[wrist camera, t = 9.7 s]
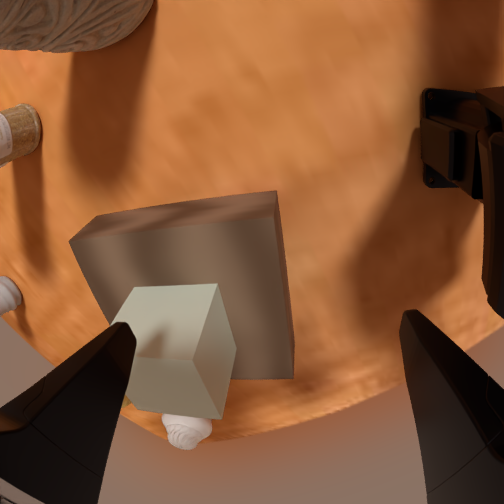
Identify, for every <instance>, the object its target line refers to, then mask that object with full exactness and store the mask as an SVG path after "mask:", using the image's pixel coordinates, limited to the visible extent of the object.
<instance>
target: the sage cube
mask: <svg viewBox="0 0 504 504" xmlns="http://www.w3.org/2000/svg"><path fill="white" fill-rule="evenodd" d="M115 322H127V323H128V324H129V326H130V328H131V330H132V331H133V333H134V335H135V337H136V340H137V346H136V350H135V355H134V360H133V365H132V370H131V375H130V379H129V383H128V387H127V390H126V393H125V394H126V396H127V397H128V398H129V399H130V401H131V402H132V403H133V404H134V406H135V407H136V408H137V409H138V410H143V411H150V412H156V413H163V414H170V415H178V416H187V417H196V418H207V419H221V420H222V418H223V413H224V408H225V403H226V398H227V393H228V388H229V383H230V378H231V374H232V369H233V364H234V359H235V354H236V349H237V348H236V345H235V342H234V338H233V335H232V332H231V328H230V325H229V322H228V318H227V315H226V311H225V308H224V304H223V301H222V297H221V294H220V290H219V287H218V283H217V284H197V285H176V286H151V287H134V288H133V290H132V291H131V293H130V294H129V296H128V298H127V299H126V301H125V302H124V304H123V305H122V307H121V309H120V310H119V312H118V314H117V315H116V317H115V318H114V320H113V322H112V323H111V325H113V324H114V323H115ZM111 325H110V326H111Z"/></svg>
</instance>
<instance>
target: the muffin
mask: <svg viewBox="0 0 504 504" xmlns="http://www.w3.org/2000/svg"><path fill="white" fill-rule="evenodd" d="M211 421H212V420H211V419H207V418H196V417H187V416H178V415H170V414H163V415H162V422H163V424H164V426H165V427H166V431H167V433H168V441H169V442H170V443H171V444H172V445H173V446H175V447H177V448H180V449H185V450H191V449H193V448H195V447H196V446H197V444H198V442H200V441H201V440H202V439H204V438H206V437H208V436H209V435H210V434H211V432H212V424H211Z"/></svg>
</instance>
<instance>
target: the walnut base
mask: <svg viewBox="0 0 504 504" xmlns="http://www.w3.org/2000/svg"><path fill="white" fill-rule="evenodd" d="M69 244H70V246H71V248H72V251H73V253H74V255H75V257H76V260H77V262H78V264H79V266H80V268H81V270H82V272H83V275H84V277H85V279H86V281H87V283H88V285H89V287H90V289H91V291H92V293H93V295H94V297H95V299H96V300H97V302H98V304H99V306H100V308H101V310H102V312H103V314H104V315H105V317H106V319H107V321H108V323H109V324H110V325H111V323H112V322H113V320H114V318H115V317H116V315H117V314H118V312H119V310H120V309H121V307H122V305H123V304H124V302H125V301H126V299H127V298H128V296H129V294H130V293H131V291H132V290H133V288H134V287H151V286H176V285H197V284H217V283H218V287H219V290H220V294H221V297H222V301H223V304H224V308H225V311H226V315H227V318H228V322H229V325H230V328H231V332H232V335H233V338H234V342H235V345H236V348H237V349H236V354H235V359H234V364H233V369H232V374H231V378H230V379H249V380H261V379H294V348H295V341H294V331H293V322H292V312H291V303H290V294H289V285H288V276H287V267H286V259H285V251H284V243H283V235H282V227H281V219H280V211H279V204H278V197H277V191H268V192H259V193H249V194H240V195H232V196H224V197H216V198H208V199H200V200H193V201H186V202H179V203H172V204H165V205H158V206H152V207H146V208H140V209H133V210H127V211H122V212H116V213H110V214H105V215H99V216H96V217H95V218H94V219H93V220H91V221H90V222H89V223H88V224H87V225H86V226H85V227H84V228H82V229H81V230H80V231H79V232H78V233H77V234H76V235H75V236H74V237H73V238H72V239H70V240H69Z"/></svg>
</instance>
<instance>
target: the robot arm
mask: <svg viewBox="0 0 504 504" xmlns="http://www.w3.org/2000/svg"><path fill="white" fill-rule="evenodd" d="M430 92H431V94H432V99H429V98H428V94H429V93H430ZM475 92H476V93H470V92H463V91H454V90H445V89H435V88H426V89H424V90H423V92H422V103H423V118H422V120H421V121H420V125H421V159H422V160H423V161H424V166H423V182H424V184H425V185H426V186H428V187H429V188H454V187H460V188H461V189H462V190H463V191H465V192H466V193H467V194H468V195H469V196H471V197H472V198H473V199H478V200H479V201H480V202H481V203H483V206H484V245H483V265H482V278H481V279H482V282H483V285H484V288H485V291H486V294H487V295H488V298H487V301H488V304H489V305H490V306H491V307H492V309H493V310H494V311H495V312H496V313H497V314H498V315H499V316H501V317H502V318H503V319H504V86H502V87H494V88H486V89H479V90H475ZM430 177H433V180H432V181H431V182H429V178H430ZM399 336H400V343H401V349H402V356H403V363H404V370H405V377H406V382H407V387H408V391H409V395H410V400H411V404H412V409H413V413H414V418H415V423H416V428H417V433H418V438H419V444H420V450H421V456H422V462H423V469H424V476H425V484H426V492H427V503H428V504H504V389H503V388H502V387H501V386H500V385H499V384H497V383H496V382H495V381H494V380H493V379H492V378H491V377H490V376H488V374H487V373H486V372H485V371H484V370H483V369H482V368H481V367H480V366H479V365H478V364H477V363H475V361H474V360H472V359H471V358H470V357H469V356H468V355H467V354H466V353H465V352H464V351H463V350H462V349H461V348H460V347H459V346H458V345H456V344H455V343H454V342H453V341H452V340H451V339H450V338H449V337H448V336H447V335H445V334H444V333H443V332H442V331H441V330H440V329H439V328H438V327H437V326H435V325H434V324H433V323H432V322H431V321H430V320H429V319H428V318H426V317H425V316H424V315H423V314H422V313H421V312H420V311H418V310H417V309H412V310H406V311H404V313H403V316H402V321H401V325H400V330H399ZM136 346H137V340H136V337H135V335H134V333H133V331H132V330H131V328H130V326H129V324H128V323H127V322H115V323H114V324H113V325H111V326H110V327H109V328H107V329H106V330H105V331H103V332H102V333H101V334H99V335H98V336H97V337H95V338H94V339H93V340H91V341H90V342H89V343H87V344H86V345H85V346H83V347H82V348H81V349H79V350H78V351H77V352H76V353H74V354H73V355H72V356H70V357H69V358H68V359H66V360H65V361H64V362H62V363H61V364H60V365H59V366H57V367H56V368H55V369H54V370H52V371H51V372H50V373H48V374H47V375H46V376H44V377H43V378H42V379H41V380H39V381H38V382H37V383H35V384H34V385H33V386H31V387H30V388H29V389H27V390H26V391H24V392H23V393H21V394H20V395H19V396H17V397H16V398H14V399H13V400H11V401H10V402H8V403H7V404H5V405H4V406H2V407H1V408H0V504H97V503H98V499H99V494H100V489H101V485H102V480H103V476H104V471H105V467H106V463H107V459H108V455H109V450H110V447H111V442H112V439H113V435H114V432H115V428H116V424H117V421H118V417H119V414H120V410H121V407H122V403H123V400H124V396H125V393H126V390H127V387H128V383H129V379H130V375H131V370H132V365H133V360H134V355H135V350H136Z"/></svg>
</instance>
